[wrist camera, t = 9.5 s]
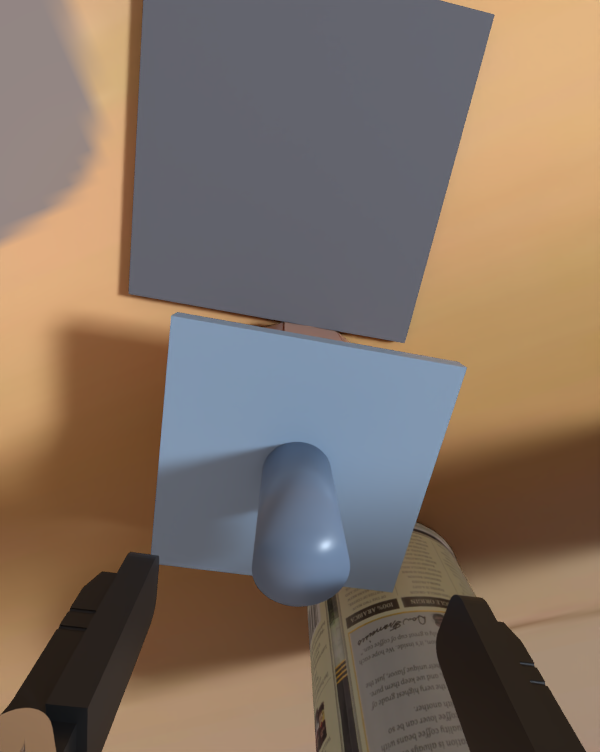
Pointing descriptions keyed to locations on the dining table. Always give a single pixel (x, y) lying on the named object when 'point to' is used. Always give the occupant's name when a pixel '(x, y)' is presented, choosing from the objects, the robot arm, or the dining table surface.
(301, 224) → the mat
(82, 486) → the dining table surface
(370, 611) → the coffee can
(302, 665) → the dining table surface
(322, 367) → the lid
